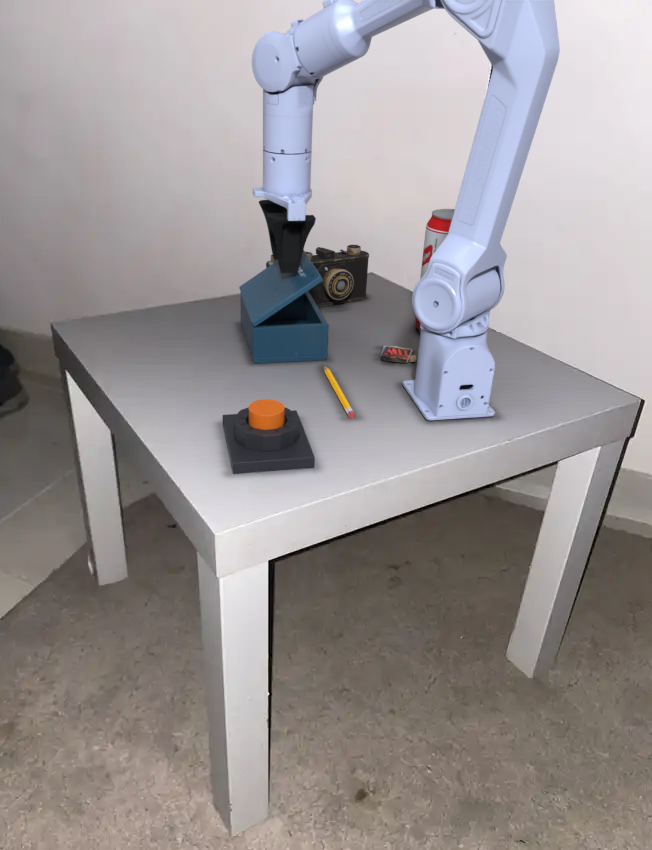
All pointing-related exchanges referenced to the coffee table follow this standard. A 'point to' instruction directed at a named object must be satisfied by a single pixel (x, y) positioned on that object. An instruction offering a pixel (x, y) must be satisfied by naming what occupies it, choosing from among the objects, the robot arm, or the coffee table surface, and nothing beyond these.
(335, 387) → the pencil
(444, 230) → the beer can
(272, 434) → the control block
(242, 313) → the blue box
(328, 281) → the camera
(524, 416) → the coffee table surface
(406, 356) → the matchbox
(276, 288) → the blue box lid
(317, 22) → the robot arm
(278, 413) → the button
